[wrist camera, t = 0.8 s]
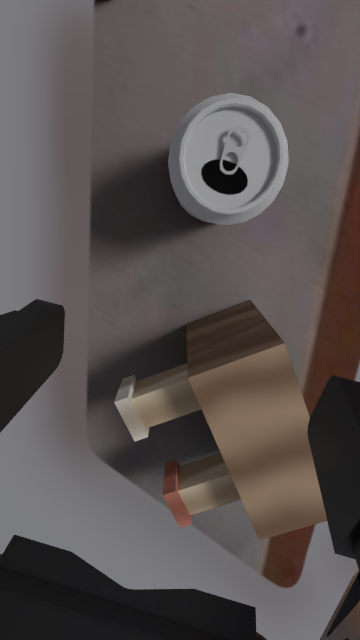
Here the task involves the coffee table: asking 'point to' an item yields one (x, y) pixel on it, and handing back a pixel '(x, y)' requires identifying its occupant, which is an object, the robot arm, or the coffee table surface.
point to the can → (228, 159)
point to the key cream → (155, 400)
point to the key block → (256, 417)
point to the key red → (197, 487)
